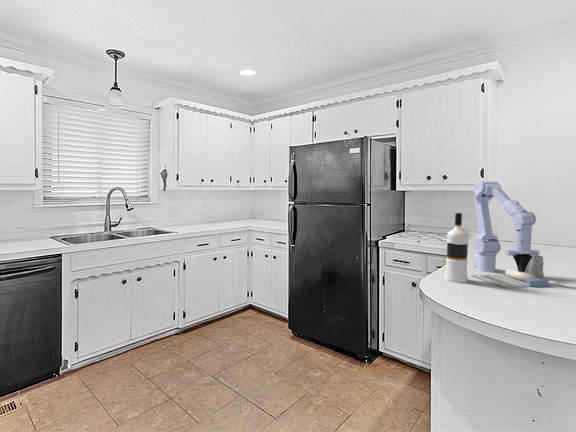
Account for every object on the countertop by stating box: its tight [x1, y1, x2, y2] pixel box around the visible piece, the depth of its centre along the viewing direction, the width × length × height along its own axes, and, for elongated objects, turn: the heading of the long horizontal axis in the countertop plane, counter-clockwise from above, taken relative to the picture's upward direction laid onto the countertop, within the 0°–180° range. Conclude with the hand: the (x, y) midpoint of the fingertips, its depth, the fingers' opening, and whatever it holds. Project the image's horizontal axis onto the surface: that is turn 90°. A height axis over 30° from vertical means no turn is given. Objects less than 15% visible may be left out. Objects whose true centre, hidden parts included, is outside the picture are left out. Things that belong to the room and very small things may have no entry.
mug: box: [525, 254, 545, 279], centre depth 158 cm, size 8×12×12 cm, turn 139°
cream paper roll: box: [504, 267, 537, 283], centre depth 150 cm, size 12×4×4 cm, turn 7°
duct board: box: [471, 273, 553, 289], centre depth 149 cm, size 20×22×4 cm
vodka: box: [443, 212, 470, 284], centre depth 149 cm, size 9×9×30 cm
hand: (521, 271), depth 149 cm, fingers closed, pressing on cream paper roll
